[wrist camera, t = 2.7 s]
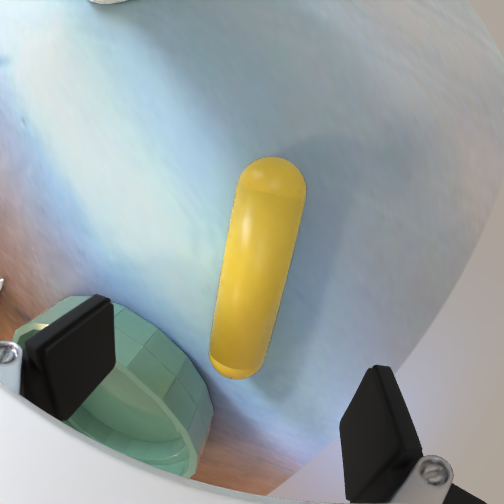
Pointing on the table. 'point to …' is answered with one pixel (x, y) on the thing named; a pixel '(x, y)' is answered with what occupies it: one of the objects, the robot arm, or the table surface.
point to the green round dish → (141, 394)
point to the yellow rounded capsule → (255, 264)
